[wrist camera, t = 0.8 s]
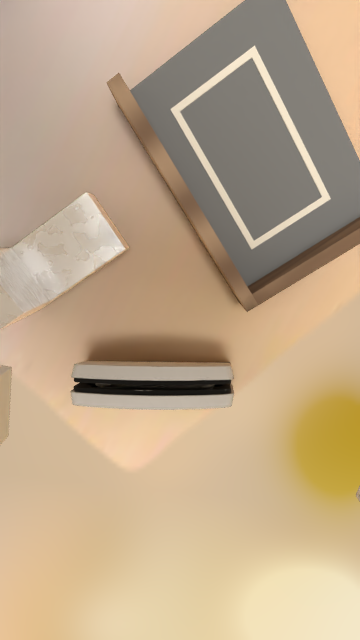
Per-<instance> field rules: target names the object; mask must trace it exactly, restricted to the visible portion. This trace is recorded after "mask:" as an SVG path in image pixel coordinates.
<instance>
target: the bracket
mask: <svg viewBox="0 0 360 640" xmlns="http://www.w3.org/2000/svg"><path fill="white" fill-rule="evenodd" d="M128 249H129V246H128V245H127V243H126V242H125V240H124V239H123V237H122V236H121V234H120V233H119V231H118V230H117V228H116V227H115V225H114V224H113V222H112V221H111V219H110V218H109V216H108V215H107V213H106V212H105V210H104V209H103V207H102V206H101V205H100V203H99V202H98V200H97V199H96V197H95V196H94V195H92V194H90V193H88V192H86V193H84V194H83V195H81V196H80V197H79V198H77V199H76V200H75V201H73V202H72V203H71V204H69V205H68V206H67V207H65V208H64V209H63V210H61V211H60V212H59V213H57V214H56V215H55V216H53V217H52V218H51V219H49V220H48V221H47V222H45V223H44V224H43V225H41V226H40V227H38V228H37V229H36V230H34V231H33V232H32V233H30V234H29V235H28V236H26V237H25V238H24V239H22V240H21V241H20V242H18V243H17V244H16V245H14V246H13V247H12V248H0V330H1V329H3V328H5V327H7V326H9V325H11V324H13V323H15V322H17V321H19V320H21V319H23V318H25V317H27V316H29V315H31V314H33V313H35V312H37V311H39V310H41V309H42V308H43V307H45V306H46V305H48V304H49V303H51V302H52V301H54V300H55V299H57V298H58V297H59V296H61V295H62V294H64V293H65V292H67V291H68V290H70V289H71V288H72V287H74V286H75V285H77V284H78V283H80V282H81V281H83V280H84V279H86V278H87V277H88V276H90V275H91V274H93V273H94V272H96V271H97V270H99V269H100V268H101V267H103V266H104V265H106V264H107V263H109V262H110V261H112V260H113V259H115V258H116V257H117V256H119V255H120V254H122V253H123V252H125V251H126V250H128Z"/></svg>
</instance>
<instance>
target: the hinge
mask: <svg viewBox="0 0 360 640" xmlns="http://www.w3.org/2000/svg"><path fill="white" fill-rule="evenodd" d="M71 377H73V378H74V382H80V383H79V384H77V385H75V386H74V389H73V390H72V391H71V397H72V404H73V405H77V406H88V407H100V408H119V409H152V410H175V409H208V408H225V407H231V406H232V401H233V395H234V391H233V386H232V385H230V383H231V379H234V377H233V372H232V368H231V364H230V363H223V362H138V361H84V362H80V363H77V364H74V368H73V372H72V375H71Z"/></svg>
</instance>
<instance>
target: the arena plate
mask: <svg viewBox="0 0 360 640" xmlns="http://www.w3.org/2000/svg"><path fill="white" fill-rule="evenodd" d="M130 92H131V94H132V95H133V97H134V99H135V100H136V102H137V104H138V105H139V107H140V109H141V110H142V112H143V114H144V115H145V117H146V119H147V120H148V122H149V124H150V125H151V127H152V129H153V130H154V132H155V134H156V135H157V137H158V139H159V140H160V142H161V144H162V145H163V147H164V149H165V150H166V152H167V154H168V155H169V157H170V159H171V160H172V162H173V164H174V165H175V167H176V169H177V170H178V172H179V174H180V175H181V177H182V179H183V180H184V182H185V184H186V185H187V187H188V189H189V190H190V192H191V194H192V195H193V197H194V199H195V200H196V202H197V204H198V205H199V207H200V209H201V210H202V212H203V214H204V215H205V217H206V219H207V220H208V222H209V224H210V225H211V227H212V229H213V230H214V232H215V234H216V235H217V237H218V239H219V240H220V242H221V244H222V245H223V247H224V249H225V250H226V252H227V254H228V255H229V257H230V259H231V260H232V262H233V264H234V265H235V267H236V269H237V270H238V272H239V274H240V275H241V277H242V279H243V280H244V282H245V284H246V285H247V287H248V286H249V285H251V284H252V283H254V282H256V281H257V280H259V279H260V278H262V277H264V276H265V275H267V274H269V273H270V272H272V271H273V270H275V269H277V268H278V267H280V266H281V265H283V264H285V263H286V262H288V261H290V260H291V259H293V258H294V257H296V256H298V255H299V254H301V253H302V252H304V251H306V250H307V249H309V248H310V247H312V246H314V245H315V244H317V243H319V242H320V241H322V240H323V239H325V238H327V237H328V236H330V235H331V234H333V233H335V232H336V231H338V230H339V229H341V228H343V227H344V226H346V225H348V224H349V223H351V222H352V221H354V220H356V219H357V218H359V217H360V160H359V158H358V156H357V154H356V152H355V150H354V147H353V145H352V143H351V141H350V139H349V137H348V134H347V132H346V130H345V128H344V126H343V124H342V121H341V119H340V117H339V115H338V113H337V111H336V108H335V106H334V104H333V102H332V100H331V98H330V95H329V93H328V91H327V89H326V87H325V85H324V82H323V80H322V78H321V76H320V74H319V72H318V69H317V67H316V65H315V63H314V61H313V59H312V56H311V54H310V52H309V50H308V48H307V46H306V43H305V41H304V39H303V37H302V35H301V33H300V30H299V28H298V26H297V24H296V22H295V20H294V17H293V15H292V13H291V11H290V9H289V7H288V4H287V2H286V0H245V1H243V2H242V3H241V4H240V5H238V6H237V7H236V8H235V9H233V10H232V11H231V12H229V13H228V14H227V15H226V16H224V17H223V18H222V19H221V20H219V21H218V22H217V23H215V24H214V25H213V26H212V27H210V28H209V29H208V30H207V31H205V32H204V33H203V34H201V35H200V36H199V37H198V38H196V39H195V40H194V41H193V42H191V43H190V44H189V45H187V46H186V47H185V48H184V49H182V50H181V51H180V52H179V53H177V54H176V55H175V56H174V57H172V58H171V59H170V60H168V61H167V62H166V63H165V64H163V65H162V66H161V67H160V68H158V69H157V70H156V71H154V72H153V73H152V74H151V75H149V76H148V77H147V78H146V79H144V80H143V81H142V82H140V83H139V84H138V85H137V86H135V87H134V88H133V89H132V90H130ZM118 106H119V105H118ZM121 111H122V110H121ZM123 114H124V113H123ZM124 116H125V115H124ZM126 119H127V118H126ZM129 124H130V123H129ZM131 127H132V126H131ZM132 129H133V128H132ZM134 132H135V131H134ZM137 137H138V136H137ZM139 140H140V139H139ZM140 142H141V141H140ZM142 145H143V144H142ZM145 150H146V149H145ZM147 153H148V152H147ZM148 155H149V154H148ZM150 158H151V157H150ZM153 163H154V162H153ZM155 166H156V165H155ZM156 168H157V167H156ZM158 171H159V170H158ZM161 176H162V175H161ZM164 181H165V180H164ZM166 184H167V183H166ZM169 189H170V188H169ZM172 194H173V193H172ZM174 197H175V196H174ZM175 199H176V198H175ZM177 202H178V201H177ZM180 207H181V206H180ZM182 210H183V209H182ZM183 212H184V211H183ZM185 215H186V214H185ZM188 220H189V219H188ZM190 223H191V222H190ZM191 225H192V224H191ZM193 228H194V227H193ZM196 233H197V232H196ZM198 236H199V235H198ZM199 238H200V237H199ZM201 241H202V240H201ZM204 246H205V245H204ZM207 251H208V250H207ZM209 254H210V253H209ZM212 259H213V258H212ZM215 264H216V263H215ZM217 267H218V266H217ZM220 272H221V271H220ZM223 277H224V276H223ZM225 280H226V279H225ZM228 285H229V284H228ZM231 290H232V289H231ZM233 293H234V292H233ZM234 295H235V294H234ZM236 298H237V297H236ZM239 303H240V302H239Z"/></svg>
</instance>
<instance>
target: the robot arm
mask: <svg viewBox="0 0 360 640" xmlns="http://www.w3.org/2000/svg"><path fill="white" fill-rule="evenodd" d="M11 375H12V367H8V366H3V365H0V445H1V444H2V443H3V442H4V441H5V439H6V438H7V437H8V435H9V415H10V395H11V393H10V392H11ZM356 497H357V498H358V500H359V501H360V486H359V489H358V491H357V493H356Z"/></svg>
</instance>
